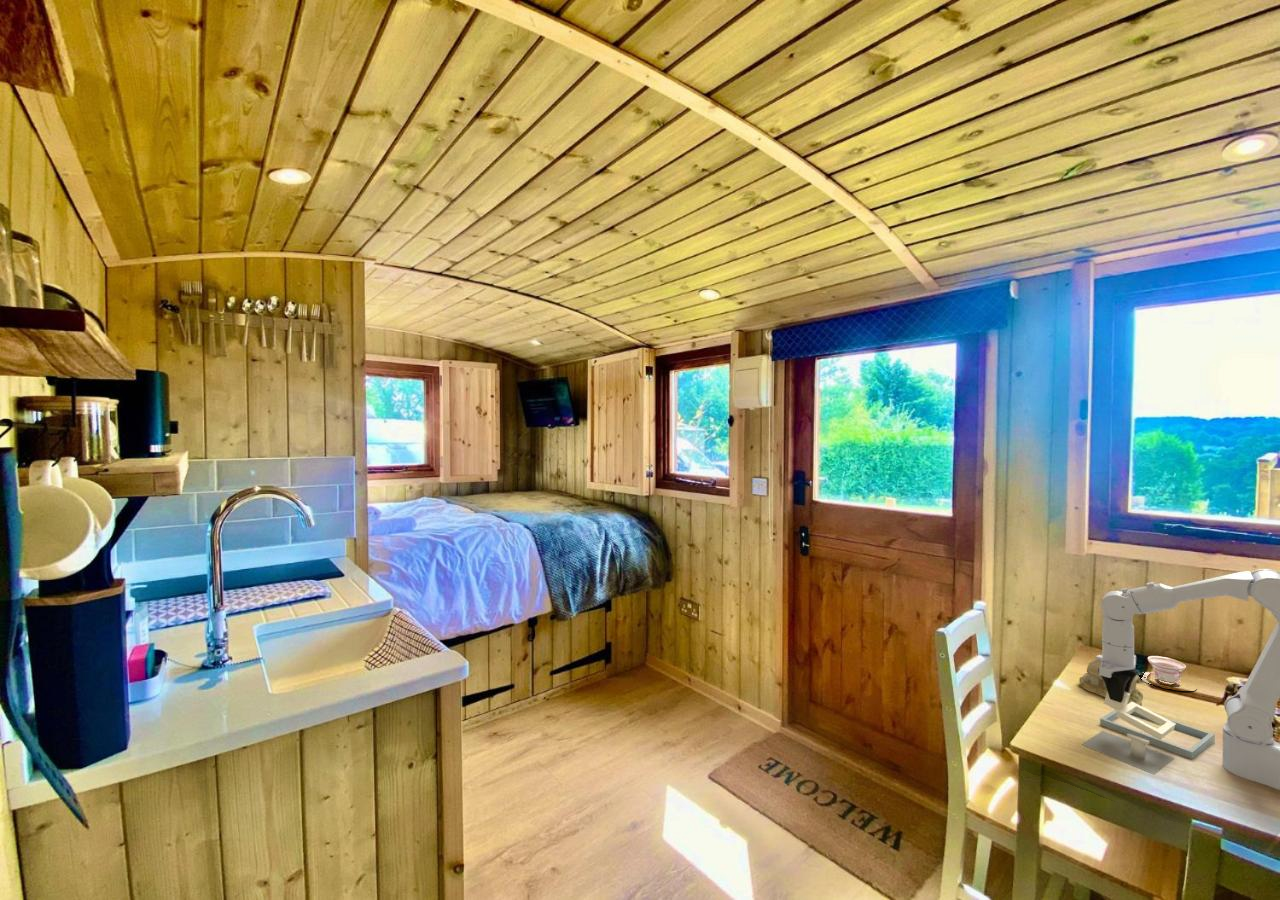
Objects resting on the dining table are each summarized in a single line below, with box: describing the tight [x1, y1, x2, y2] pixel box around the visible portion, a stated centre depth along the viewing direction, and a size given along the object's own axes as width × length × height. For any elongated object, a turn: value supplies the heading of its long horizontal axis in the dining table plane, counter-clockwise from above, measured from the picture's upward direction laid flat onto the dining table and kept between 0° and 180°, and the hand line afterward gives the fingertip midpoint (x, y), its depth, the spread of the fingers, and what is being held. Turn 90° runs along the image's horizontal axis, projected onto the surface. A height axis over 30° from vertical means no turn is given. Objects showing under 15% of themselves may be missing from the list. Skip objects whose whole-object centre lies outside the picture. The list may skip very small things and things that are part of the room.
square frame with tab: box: [1103, 691, 1176, 740], centre depth 126 cm, size 12×8×4 cm
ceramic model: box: [1078, 658, 1144, 706], centre depth 151 cm, size 14×11×10 cm
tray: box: [1099, 709, 1216, 760], centre depth 130 cm, size 17×14×2 cm
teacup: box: [1140, 655, 1187, 685], centre depth 156 cm, size 12×12×6 cm
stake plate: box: [1080, 730, 1175, 775], centre depth 123 cm, size 13×11×5 cm
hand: (1118, 699), depth 129 cm, fingers closed on square frame with tab, 2 cm apart
